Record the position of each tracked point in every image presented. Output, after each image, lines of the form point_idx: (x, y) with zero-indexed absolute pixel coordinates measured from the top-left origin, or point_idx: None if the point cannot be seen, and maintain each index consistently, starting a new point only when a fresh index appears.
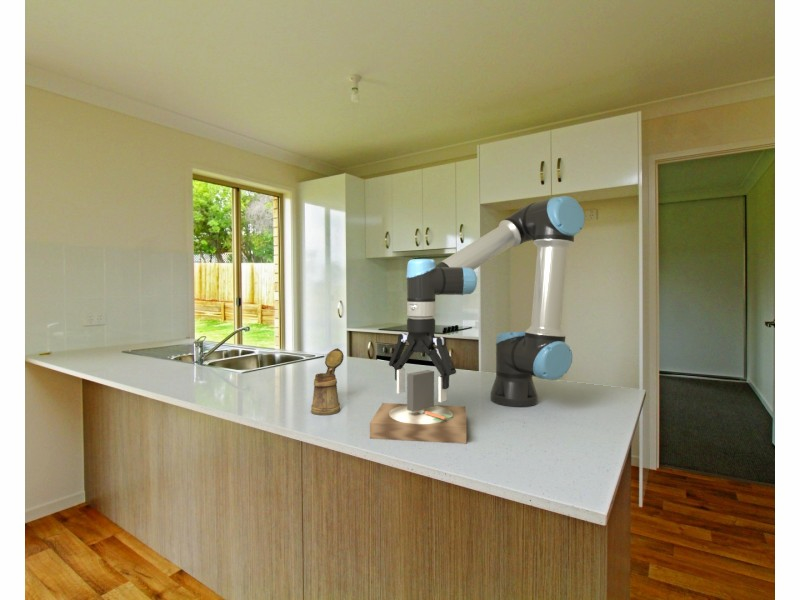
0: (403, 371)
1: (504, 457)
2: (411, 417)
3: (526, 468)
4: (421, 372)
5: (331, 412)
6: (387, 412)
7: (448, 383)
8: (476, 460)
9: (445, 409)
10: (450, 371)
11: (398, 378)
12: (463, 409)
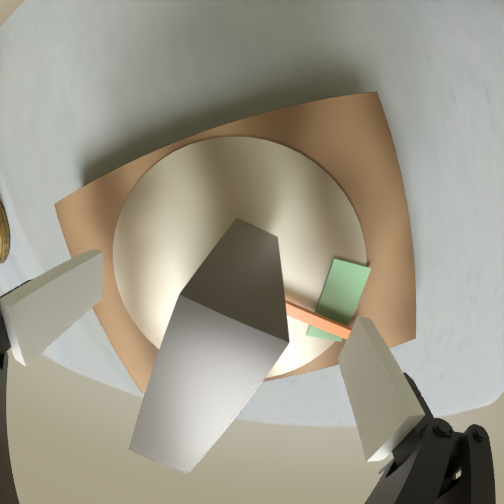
0: (25, 316)
1: (459, 342)
2: None
3: (476, 361)
4: (185, 416)
5: (6, 250)
6: (119, 303)
7: (416, 397)
8: (413, 379)
9: (316, 177)
10: (446, 479)
11: (54, 337)
12: (383, 138)
